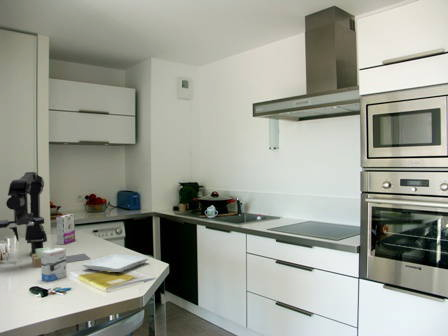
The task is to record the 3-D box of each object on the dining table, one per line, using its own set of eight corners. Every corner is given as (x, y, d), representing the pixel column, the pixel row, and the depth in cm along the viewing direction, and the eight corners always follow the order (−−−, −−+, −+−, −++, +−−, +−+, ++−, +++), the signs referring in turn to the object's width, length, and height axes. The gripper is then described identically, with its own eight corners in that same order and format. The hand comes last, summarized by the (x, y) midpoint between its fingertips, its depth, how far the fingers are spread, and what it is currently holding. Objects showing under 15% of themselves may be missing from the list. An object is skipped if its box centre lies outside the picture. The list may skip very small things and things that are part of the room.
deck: (32, 262, 184) (31, 254, 184) (60, 258, 191) (60, 250, 191) (35, 267, 174) (34, 259, 174) (65, 263, 181) (65, 254, 181)
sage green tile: (35, 254, 183) (35, 249, 183) (49, 252, 187) (49, 247, 187) (38, 257, 176) (37, 252, 176) (52, 255, 179) (52, 250, 179)
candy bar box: (68, 240, 234) (67, 214, 234) (75, 240, 233) (74, 214, 233) (56, 244, 223) (55, 216, 223) (64, 245, 222) (63, 216, 222)
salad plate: (114, 259, 186) (114, 252, 186) (149, 264, 177) (149, 256, 177) (80, 271, 167) (80, 263, 167) (118, 277, 158) (118, 268, 158)
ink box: (48, 282, 152) (47, 252, 152) (41, 280, 155) (40, 251, 154) (67, 276, 159) (66, 248, 159) (60, 274, 162) (59, 247, 162)
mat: (59, 257, 191) (59, 257, 191) (84, 254, 198) (84, 253, 198) (64, 263, 181) (64, 262, 181) (90, 259, 187) (90, 258, 187)
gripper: (-2, 210, 164) (-1, 246, 164) (45, 206, 174) (46, 240, 174) (-3, 208, 173) (-2, 242, 174) (42, 204, 184) (43, 237, 184)
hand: (22, 240), depth 176 cm, fingers open, 3 cm apart
